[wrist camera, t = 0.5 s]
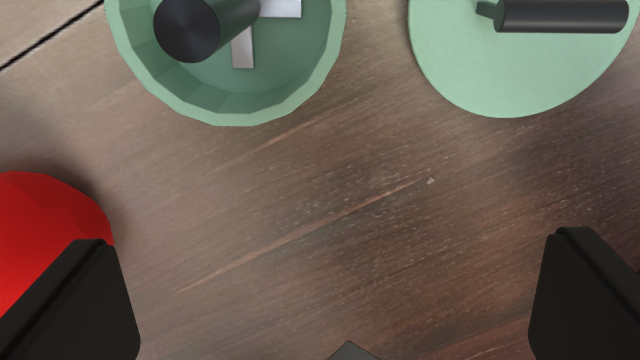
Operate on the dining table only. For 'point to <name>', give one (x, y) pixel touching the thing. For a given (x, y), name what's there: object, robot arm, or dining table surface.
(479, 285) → the dining table surface
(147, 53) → the bowl
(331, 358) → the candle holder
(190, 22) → the black and grey rod
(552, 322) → the robot arm
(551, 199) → the dining table surface
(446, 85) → the lid
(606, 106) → the dining table surface
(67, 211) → the tomato
